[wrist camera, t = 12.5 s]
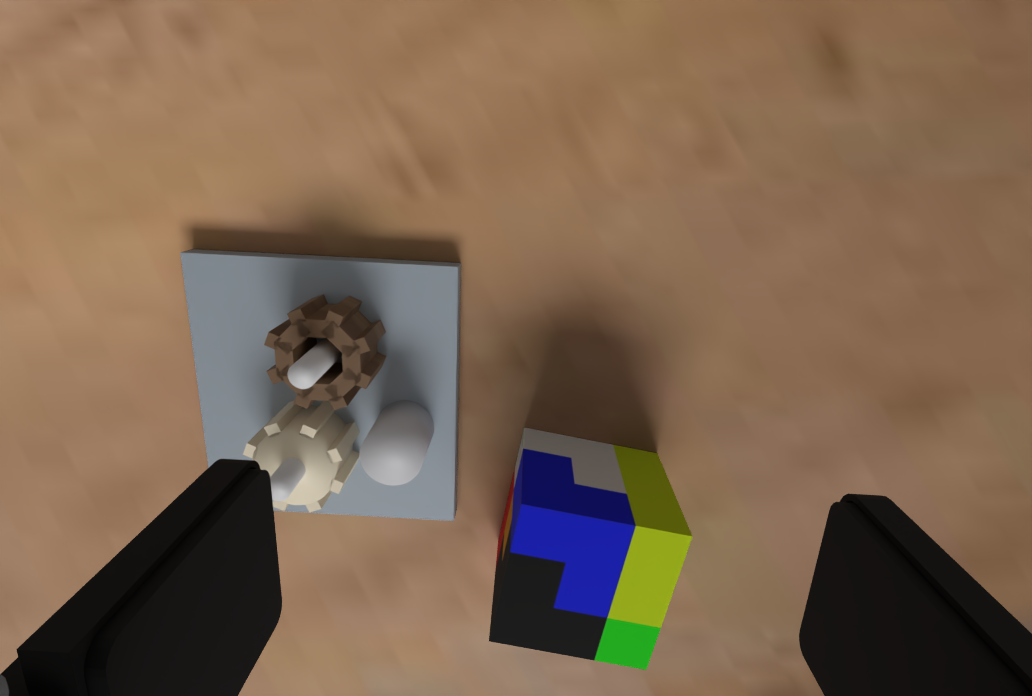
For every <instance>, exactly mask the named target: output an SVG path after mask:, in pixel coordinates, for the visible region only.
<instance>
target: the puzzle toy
mask: <svg viewBox="0 0 1032 696" xmlns="http://www.w3.org/2000/svg"><path fill="white" fill-rule="evenodd" d="M691 539H692V534H691V532H690V530H689V527H688V525H687V522H686V520H685V518H684V515H683V513H682V511H681V508H680V506H679V504H678V501H677V499H676V496H675V494H674V492H673V489H672V487H671V485H670V482H669V480H668V478H667V475H666V473H665V470H664V468H663V466H662V463H661V461H660V459H659V456H658V454H657V453H653V452H648V451H643V450H637V449H632V448H627V447H622V446H617V445H612V444H607V443H601V442H596V441H591V440H586V439H581V438H576V437H571V436H565V435H560V434H555V433H550V432H545V431H540V430H535V429H530V428H524V429H523V434H522V438H521V443H520V447H519V452H518V456H517V460H516V465H515V469H514V474H513V478H512V483H511V487H510V492H509V496H508V500H507V505H506V509H505V514H504V518H503V523H502V527H501V532H500V536H499V540H498V550H497V561H496V572H495V583H494V593H493V604H492V615H491V626H490V636H489V641H491V642H496V643H502V644H507V645H513V646H518V647H524V648H529V649H535V650H540V651H546V652H551V653H557V654H562V655H568V656H573V657H579V658H584V659H590V660H595V661H601V662H606V663H612V664H617V665H623V666H628V667H634V668H639V669H645V670H646V669H647V666H648V663H649V660H650V657H651V654H652V652H653V649H654V646H655V643H656V640H657V637H658V634H659V631H660V628H661V626H662V623H663V620H664V617H665V614H666V611H667V608H668V605H669V603H670V600H671V597H672V594H673V591H674V588H675V585H676V582H677V579H678V577H679V574H680V571H681V568H682V565H683V562H684V559H685V556H686V554H687V551H688V548H689V545H690V542H691Z"/></svg>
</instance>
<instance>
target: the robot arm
mask: <svg viewBox="0 0 1032 696" xmlns="http://www.w3.org/2000/svg"><path fill="white" fill-rule="evenodd" d="M281 608H282V596H281V585H280V575H279V564H278V554H277V543H276V533H275V522H274V512H273V501H272V491H271V480H270V475H269V473H268V471H267V470H261V469H260V466H259V464H258V462H256V461H255V460H237V459H219V460H217V461H215V462H214V463H213V464H212V465H211V466H210V467H209V468H208V469H207V470H206V471H205V472H204V473H203V474H202V475H201V476H199V477H198V478H197V479H196V480H195V481H194V482H193V483H192V484H191V485H190V486H189V487H188V488H187V489H186V490H185V491H184V492H183V493H182V494H180V495H179V496H178V497H177V498H176V499H175V500H174V501H173V502H172V503H171V504H170V505H169V506H168V507H167V508H166V509H165V510H164V511H162V512H161V513H160V514H159V515H158V516H157V517H156V518H155V519H154V520H153V521H152V522H151V523H150V524H149V525H148V526H147V527H146V528H144V529H143V530H142V531H141V532H140V533H139V534H138V535H137V536H136V537H135V538H134V539H133V540H132V541H131V542H130V543H129V544H128V545H127V546H125V547H124V548H123V549H122V550H121V551H120V552H119V553H118V554H117V555H116V556H115V557H114V558H113V559H112V560H111V561H110V562H109V563H107V564H106V565H105V566H104V567H103V568H102V569H101V570H100V571H99V572H98V573H97V574H96V575H95V576H94V577H93V578H92V579H91V580H89V581H88V582H87V583H86V584H85V585H84V586H83V587H82V588H81V589H80V590H79V591H78V592H77V593H76V594H75V595H74V596H73V597H72V598H70V599H69V600H68V601H67V602H66V603H65V604H64V605H63V606H62V607H61V608H60V609H59V610H58V611H57V612H56V613H55V614H54V615H52V616H51V617H50V618H49V619H48V620H47V621H46V622H45V623H44V624H43V625H42V626H41V627H40V628H39V629H38V630H37V631H36V632H35V633H33V634H32V635H31V636H30V637H29V638H28V639H27V640H26V641H25V642H24V643H23V644H22V645H21V646H20V647H19V648H18V649H17V653H18V658H17V659H16V660H15V661H14V662H13V663H12V664H11V665H10V666H9V667H8V668H7V669H5V670H4V671H3V672H2V673H1V674H0V696H238V694H239V692H240V691H241V689H242V687H243V685H244V683H245V682H246V680H247V678H248V676H249V674H250V672H251V671H252V669H253V667H254V665H255V663H256V662H257V660H258V658H259V656H260V654H261V653H262V651H263V649H264V647H265V645H266V644H267V642H268V640H269V638H270V636H271V635H272V633H273V631H274V629H275V627H276V625H277V623H278V621H279V617H280V614H281ZM799 641H800V648H801V651H802V654H803V656H804V659H805V660H806V662H807V664H808V666H809V668H810V670H811V672H812V673H813V675H814V677H815V679H816V681H817V683H818V684H819V686H820V688H821V690H822V692H823V694H824V695H825V696H1032V634H1031V633H1030V632H1029V631H1028V630H1027V629H1026V628H1025V627H1024V626H1023V625H1022V624H1021V623H1020V622H1019V621H1018V620H1017V619H1016V618H1015V617H1014V616H1012V615H1011V614H1010V613H1009V612H1008V611H1007V610H1006V609H1005V608H1004V607H1003V606H1002V605H1001V604H1000V603H999V602H998V601H997V600H996V599H995V598H994V597H992V596H991V595H990V594H989V593H988V592H987V591H986V590H985V589H984V588H983V587H982V586H981V585H980V584H979V583H978V582H977V581H976V580H975V579H974V578H972V577H971V576H970V575H969V574H968V573H967V572H966V571H965V570H964V569H963V568H962V567H961V566H960V565H959V564H958V563H957V562H956V561H955V560H954V559H952V558H951V557H950V556H949V555H948V554H947V553H946V552H945V551H944V550H943V549H942V548H941V547H940V546H939V545H938V544H937V543H936V542H935V541H934V540H933V539H931V538H930V537H929V536H928V535H927V534H926V533H925V532H924V531H923V530H922V529H921V528H920V527H919V526H918V525H917V524H916V523H915V522H914V521H913V520H911V519H910V518H909V517H908V516H907V515H906V514H905V513H904V512H903V511H902V510H901V509H900V508H899V507H898V506H897V505H896V504H895V503H894V502H893V501H891V500H890V499H889V498H887V497H886V496H878V495H860V494H847V495H844V496H843V498H842V499H841V500H840V502H835V503H833V505H832V506H831V508H830V510H829V514H828V518H827V522H826V527H825V531H824V535H823V539H822V543H821V547H820V551H819V555H818V559H817V563H816V567H815V571H814V575H813V579H812V583H811V587H810V592H809V596H808V600H807V604H806V608H805V612H804V616H803V620H802V624H801V628H800V634H799Z"/></svg>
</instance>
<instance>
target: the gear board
mask: <svg viewBox="0 0 1032 696" xmlns="http://www.w3.org/2000/svg"><path fill="white" fill-rule="evenodd" d="M180 254H181V261H182V269H183V276H184V284H185V292H186V299H187V307H188V315H189V322H190V330H191V337H192V345H193V353H194V360H195V368H196V376H197V383H198V391H199V398H200V406H201V414H202V421H203V429H204V436H205V444H206V452H207V459H208V467H210V466H211V465H212V464H213V463H214V462H215V461H217V460H219V459H237V460H255V461H256V462H258V464H259V466H260V469H261V470H267V471H268V473H269V475H270V480H271V491H272V501H273V511H290V512H307V513H325V514H342V515H359V516H377V517H394V518H412V519H429V520H447V521H454V519H455V514H456V510H457V457H458V400H459V342H460V284H461V263H452V262H432V261H413V260H394V259H374V258H355V257H335V256H316V255H296V254H277V253H257V252H238V251H218V250H199V249H192V250H188V251H185V252H181V253H180ZM322 294H324V296H325V298H326V300H327V302H328V304H338V303H340V302H341V301H342V300H344V299H345V298H346V297H348V296H352V297H354V298H356V299H358V300H361V301H362V303H361V305H360V308H359V311H360V312H361V313H362V314H363V315H364V316H365V317H366V318H367V319H368V320H369V321H370V322H371V323H373V322H376V321H379V320H381V322H382V324H383V326H384V328H385V331H386V333H385V334H384V335H383V336H382V337H381V339H380V340H379V341H378V342H377V352H379V353H381V354H383V355H385V356H387V357H386V359H385V361H384V364H383V366H382V368H381V369H380V371H379V372H378V373H377V375H376V376H375V377H374V379H373V380H372V382H371V383H370V384H369V386H368V387H367V388H366V389H364V388H362V387H361V389H360V390H359V391H358V393H357V394H356V395H355V397H354V398H353V399H352V401H351V402H350V403H349V405H348V406H346V407H343V408H340V409H337V410H334V409H333V407H332V405H331V403H330V401H319V400H315V401H314V402H313V403H312V404H311V406H310V407H309V408H308V409H306V408H304V407H301V406H299V405H297V404H294V401H295V398H296V396H297V394H296V393H295V392H294V391H293V390H292V389H291V388H290V387H289V386H288V385H287V384H285V383H284V382H283V381H281V382H278V383H275V384H273V383H272V381H271V379H270V377H269V376H268V374H267V372H266V371H267V370H269V369H270V368H271V367H272V366H274V365H275V364H276V362H275V350H274V349H272V348H270V347H267V346H265V345H264V343H265V340H266V338H267V335H268V332H269V331H271V330H272V329H274V328H276V327H277V326H279V325H280V324H282V323H283V322H285V321H286V320H288V319H289V317H288V315H287V313H289V312H290V311H292V310H294V309H295V308H297V307H299V306H300V305H302V304H303V303H305V302H307V301H308V300H310V299H311V298H314V297H317V296H320V295H322ZM335 362H338V363H342V352H341V351H340V350H339V349H337V348H336V347H335V346H334V345H333V344H332V343H331V342H330V341H329V340H328V339H327V338H317V344H316V345H315V346H314V347H313V348H312V349H311V350H309V351H308V352H307V353H306V354H305V355H303V356H302V357H301V358H300V359H299V360H298V361H296V362H295V363H294V364H293V365H292V366H291V367H290V368H289V370H288V379H289V381H290V383H291V384H292V385H293V386H295V387H296V388H299V389H307V388H310V387H311V386H312V385H313V384H314V383H315V382H316V381H317V380H318V379H319V378H320V377H321V376H322V375H323V374H324V373H325V372H326V371H327V370H328V369H329V368H330V367H331V366H332V365H333V364H334V363H335Z"/></svg>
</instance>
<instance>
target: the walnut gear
mask: <svg viewBox="0 0 1032 696" xmlns="http://www.w3.org/2000/svg"><path fill="white" fill-rule="evenodd" d="M361 303H362V301H361V300H358V299H356V298H354V297H352V296H348V297H346V298H345V299H344V300H342V301H341V302H340V303H338V304H328V302H327V300H326V298H325V296H324V294H322V295H320V296H317V297H314V298H311V299H310V300H308V301H307V302H305V303H303V304H302V305H300V306H299V307H297V308H295V309H294V310H292V311H290V312H289V313H287V315H288V317H289V319H288V320H286V321H285V322H283V323H282V324H280V325H279V326H277V327H276V328H274V329H272V330H271V331H269V332H268V335H267V338H266V340H265V343H264V345H265V346H267V347H270V348H272V349H274V350H275V362H276V364H275V365H274V366H272V367H271V368H270V369H269V370H267V371H266V372H267V374H268V376H269V377H270V379H271V381H272V383H273V384H275V383H278V382H281V381H283V382H284V383H285V384H287V385H288V386H289V387H290V388H291V389H292V390H293V391H294V392H295V393H296V394H297V396H296V398H295V401H294V404H297V405H299V406H301V407H304V408H306V409H308V408H309V407H310V406H311V404H312V403H313V402H314V401H315V400H319V401H330V403H331V405H332V407H333V409H334V410H337V409H340V408H343V407H346V406H348V405H349V403H350V402H351V401H352V399H353V398H354V397H355V395H356V394H357V393H358V391H359V390H360V389H361V387H362V388H364V389H366V388H367V387H368V386H369V384H370V383H371V382H372V380H373V379H374V377H375V376H376V375H377V373H378V372H379V371H380V369H381V368H382V366H383V364H384V361H385V359H386V357H387V356H385V355H383V354H381V353H379V352H377V342H378V341H379V340H380V339H381V337H382V336H383V335H384V334H385V333H386V331H385V328H384V326H383V324H382V322H381V320H379V321H376V322H373V323H371V322H370V321H369V320H368V319H367V318H366V317H365V316H364V315H363V314H362V313H361V312H360V311H359V308H360V305H361ZM317 338H327V339H328V340H329V341H330V342H331V343H332V344H333V345H334V346H335V347H336V348H337V349H339V350H340V351H341V352H342V363H338V362H335V363H334V364H333V365H332V366H331V367H330V368H329V369H328V370H327V371H326V372H325V373H324V374H323V375H322V376H321V377H320V378H319V379H318V380H317V381H316V382H315V383H314V384H313V385H312V386H311V387H310V388H307V389H299V388H296V387H295V386H293V385H292V384H291V383H290V381H289V379H288V370H289V368H290V367H291V366H292V365H293V364H294V363H295V362H296V361H298V360H299V359H300V358H301V357H302V356H303V355H305V354H306V353H307V352H308V351H309V350H311V349H312V348H313V347H314V346H315V345H316V344H317Z"/></svg>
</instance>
